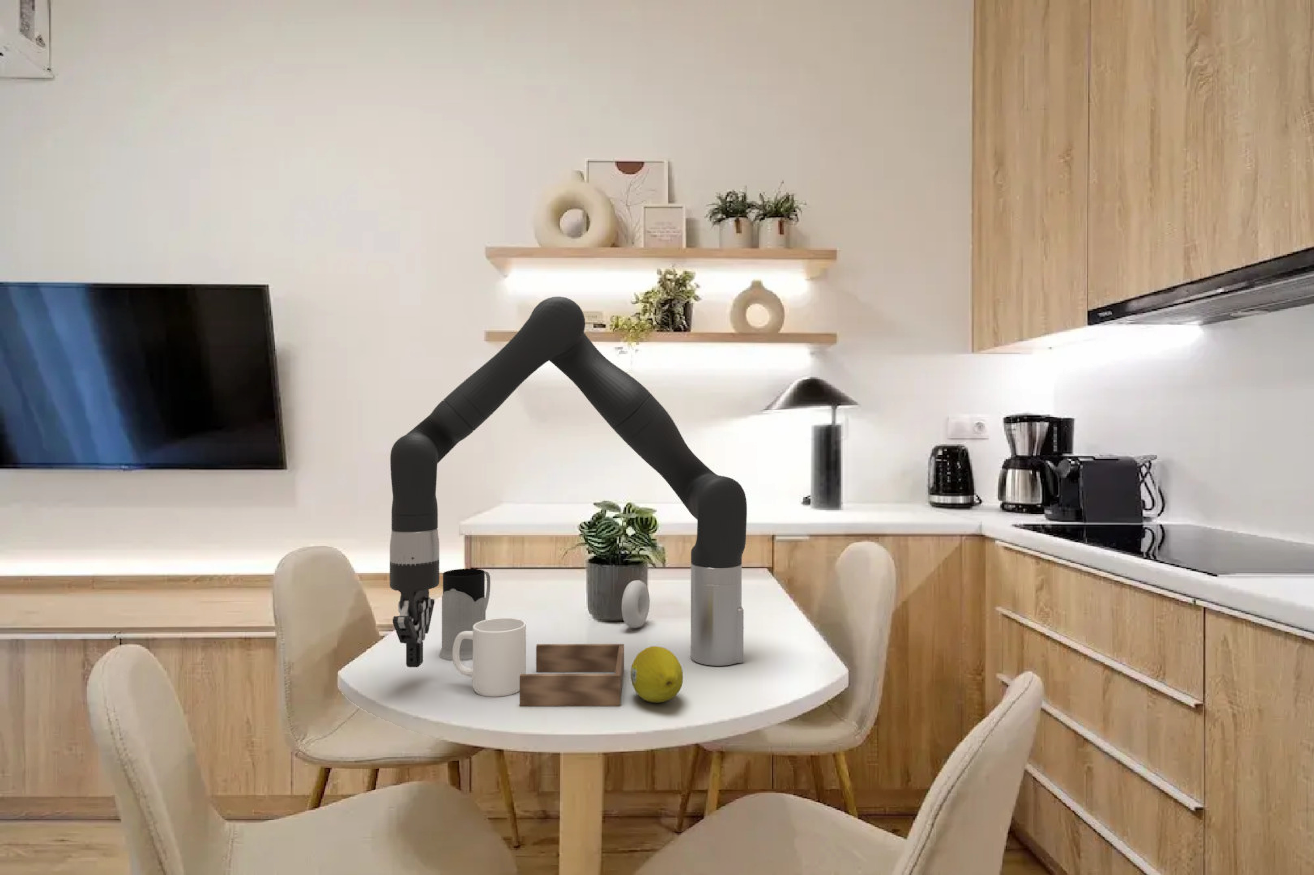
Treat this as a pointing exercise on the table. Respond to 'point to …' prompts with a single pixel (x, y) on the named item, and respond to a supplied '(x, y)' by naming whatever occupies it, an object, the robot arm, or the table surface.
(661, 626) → the table surface
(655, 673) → the lemon
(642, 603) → the donut
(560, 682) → the wooden box
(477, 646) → the cup
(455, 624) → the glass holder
